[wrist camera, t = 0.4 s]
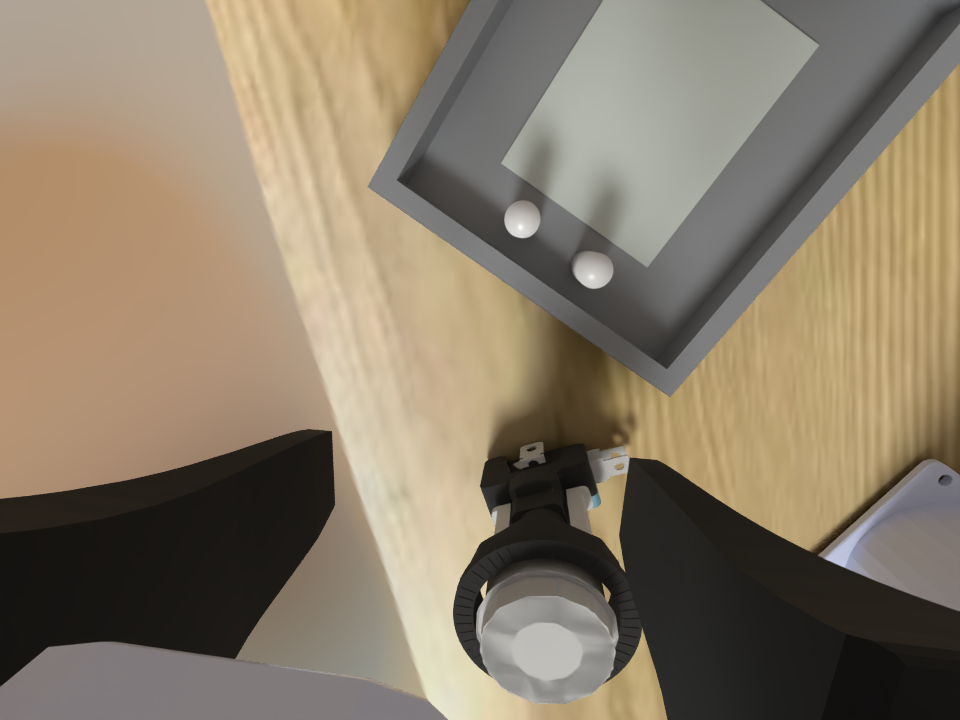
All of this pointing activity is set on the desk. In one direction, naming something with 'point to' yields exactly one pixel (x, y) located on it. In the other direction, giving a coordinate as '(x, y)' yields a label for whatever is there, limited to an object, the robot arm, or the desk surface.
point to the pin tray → (657, 150)
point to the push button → (547, 579)
